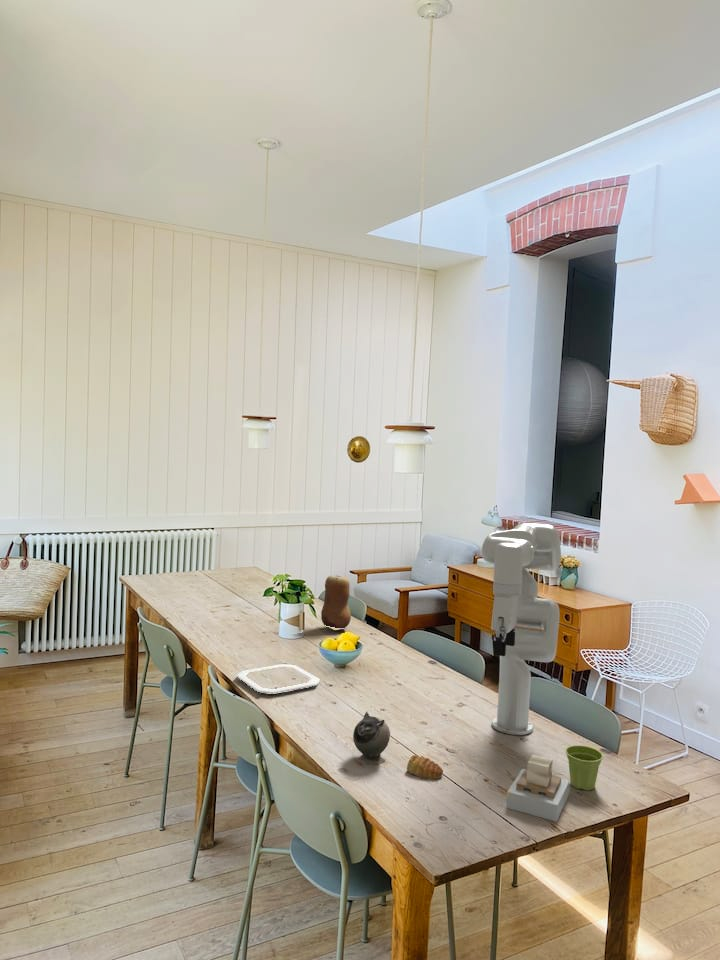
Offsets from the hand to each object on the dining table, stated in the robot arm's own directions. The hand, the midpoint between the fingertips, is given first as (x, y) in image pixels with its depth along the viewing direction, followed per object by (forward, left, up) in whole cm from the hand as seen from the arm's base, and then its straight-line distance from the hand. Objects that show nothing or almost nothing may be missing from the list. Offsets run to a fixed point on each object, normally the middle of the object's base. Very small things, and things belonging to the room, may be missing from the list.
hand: (504, 650), depth 194 cm
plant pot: (0, +23, -32) cm, 39 cm away
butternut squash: (-92, -103, -32) cm, 142 cm away
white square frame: (-20, -86, -33) cm, 95 cm away
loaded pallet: (+15, +15, -28) cm, 35 cm away
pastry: (+15, -16, -33) cm, 39 cm away
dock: (+15, +15, -32) cm, 38 cm away
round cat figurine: (+16, -31, -32) cm, 48 cm away
